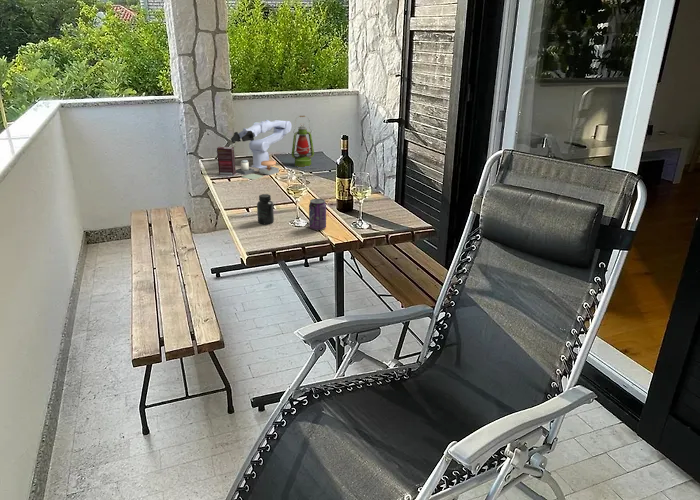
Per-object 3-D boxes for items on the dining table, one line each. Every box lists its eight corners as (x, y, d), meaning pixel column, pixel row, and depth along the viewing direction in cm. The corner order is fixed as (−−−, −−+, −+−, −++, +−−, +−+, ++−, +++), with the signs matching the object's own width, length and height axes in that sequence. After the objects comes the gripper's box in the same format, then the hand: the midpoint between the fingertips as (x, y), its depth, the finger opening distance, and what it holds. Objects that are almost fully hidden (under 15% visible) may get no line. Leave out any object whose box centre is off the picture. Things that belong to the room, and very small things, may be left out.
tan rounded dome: (268, 166, 309) (268, 159, 307) (279, 169, 305) (279, 161, 303) (258, 169, 302) (257, 162, 301) (269, 172, 298) (269, 164, 296)
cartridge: (245, 170, 308) (244, 159, 305) (250, 171, 306) (250, 160, 303) (239, 171, 305) (238, 160, 302) (245, 173, 302) (244, 162, 300)
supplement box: (236, 174, 300) (234, 146, 294) (233, 176, 296) (231, 148, 290) (221, 174, 301) (219, 146, 295) (218, 176, 297) (216, 147, 290)
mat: (252, 174, 301) (252, 173, 301) (264, 177, 297) (264, 176, 297) (241, 177, 295) (241, 176, 294) (253, 180, 290) (253, 179, 290)
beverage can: (309, 225, 226) (308, 198, 222) (325, 225, 227) (325, 198, 222) (309, 231, 220) (309, 203, 215) (326, 230, 220) (326, 203, 216)
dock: (245, 169, 312) (244, 166, 311) (257, 172, 306) (257, 169, 306) (232, 172, 304) (232, 169, 303) (245, 175, 299) (245, 172, 298)
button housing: (268, 170, 310) (268, 165, 308) (278, 173, 305) (278, 167, 304) (259, 173, 303) (258, 168, 302) (269, 175, 299) (269, 170, 298)
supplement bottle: (264, 218, 233) (263, 192, 228) (277, 221, 230) (276, 195, 225) (254, 223, 228) (253, 196, 223) (267, 226, 224) (266, 199, 220)
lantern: (312, 163, 329) (311, 113, 317) (316, 167, 319) (316, 116, 308) (290, 164, 325) (288, 114, 313) (293, 168, 316) (292, 117, 304)
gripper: (239, 126, 306) (224, 133, 296) (259, 124, 299) (245, 132, 289) (242, 138, 309) (228, 146, 299) (262, 136, 302) (249, 144, 292)
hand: (237, 140), depth 294 cm, fingers open, 7 cm apart
